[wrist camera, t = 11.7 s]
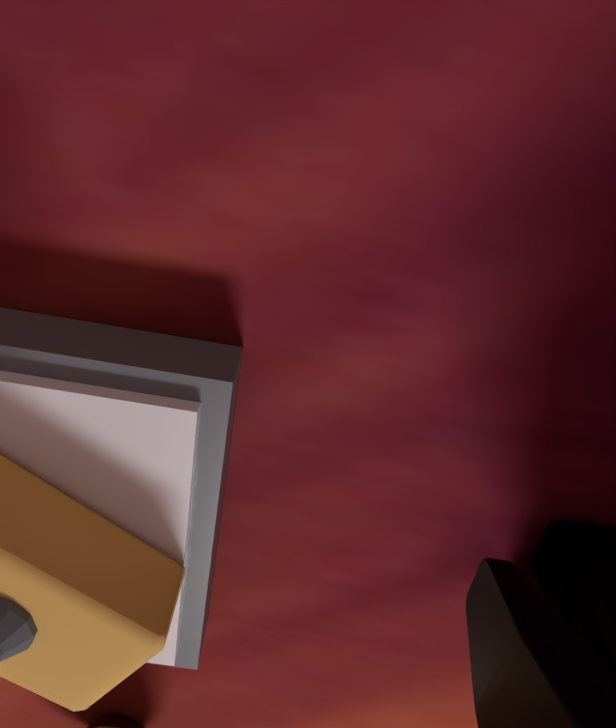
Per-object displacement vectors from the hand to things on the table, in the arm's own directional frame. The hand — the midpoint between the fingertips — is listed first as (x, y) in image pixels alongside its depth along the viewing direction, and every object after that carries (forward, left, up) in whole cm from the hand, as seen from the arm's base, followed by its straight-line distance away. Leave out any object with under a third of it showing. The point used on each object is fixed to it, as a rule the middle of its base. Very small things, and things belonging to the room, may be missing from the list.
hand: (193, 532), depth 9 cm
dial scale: (+7, +11, -13) cm, 18 cm away
